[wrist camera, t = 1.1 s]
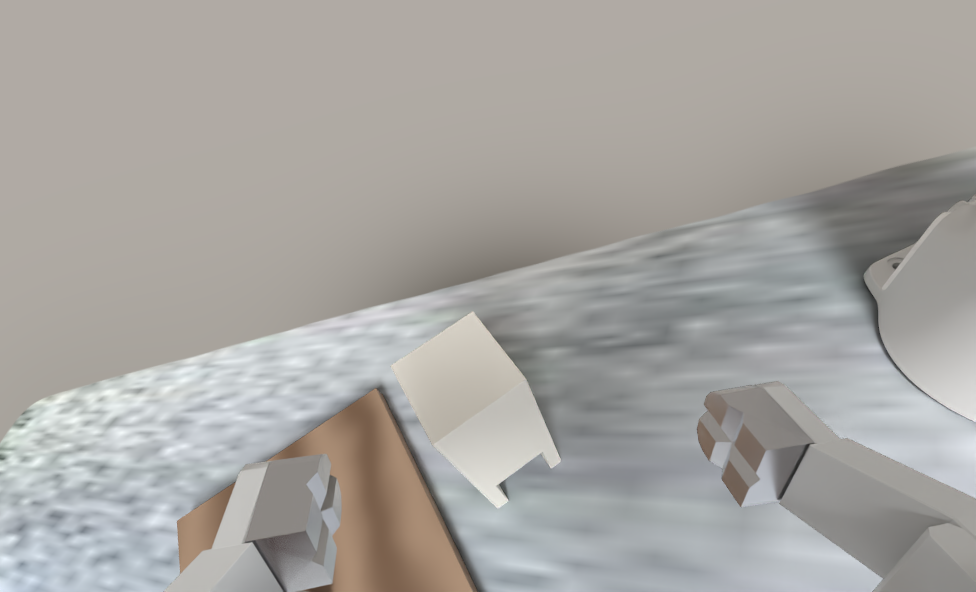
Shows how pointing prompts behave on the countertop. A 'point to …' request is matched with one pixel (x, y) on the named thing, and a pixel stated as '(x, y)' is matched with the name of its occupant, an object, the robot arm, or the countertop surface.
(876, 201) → the countertop surface
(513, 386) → the housing
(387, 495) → the stub board
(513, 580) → the countertop surface
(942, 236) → the robot arm
